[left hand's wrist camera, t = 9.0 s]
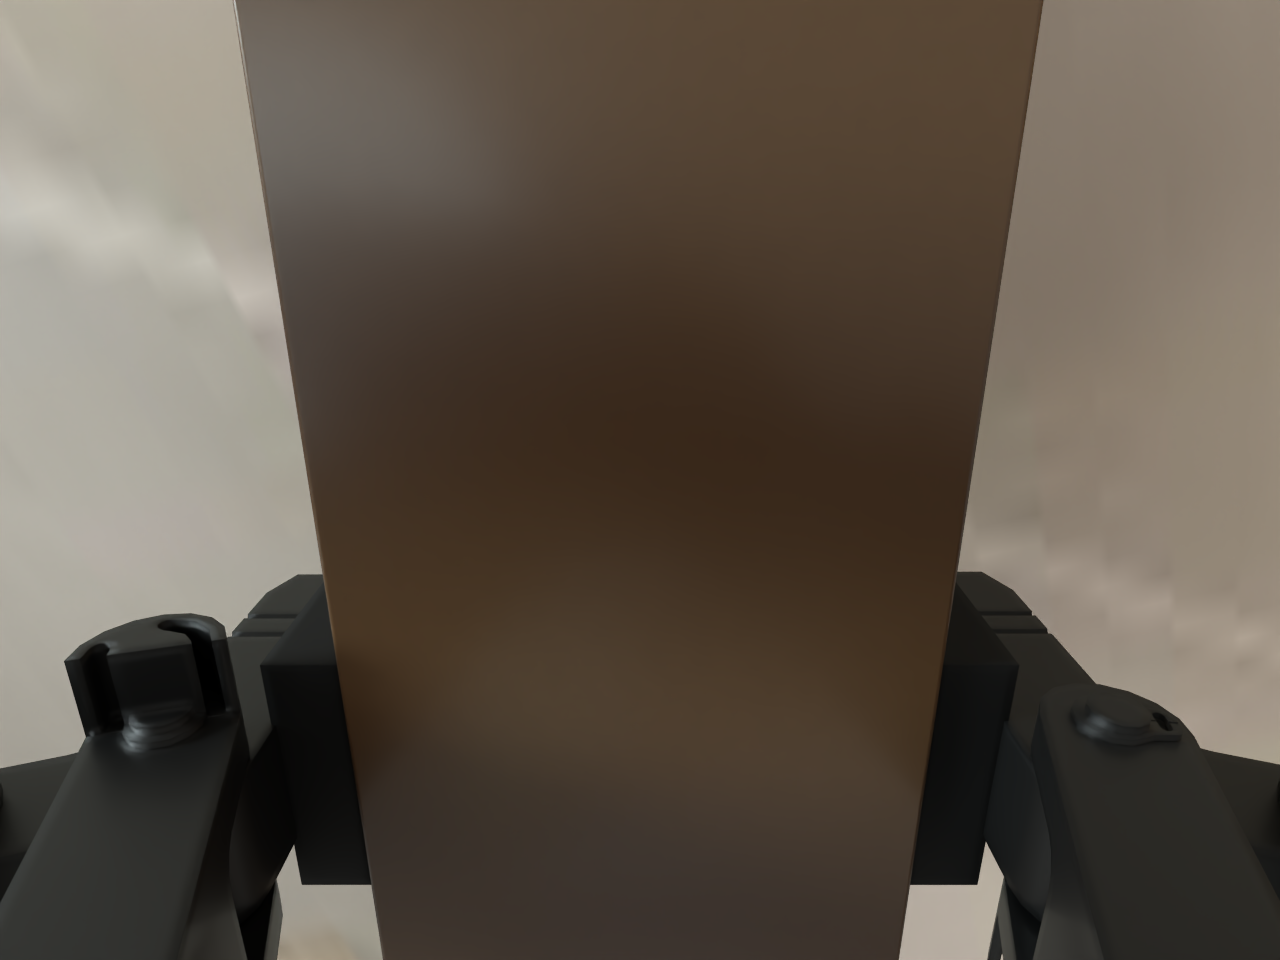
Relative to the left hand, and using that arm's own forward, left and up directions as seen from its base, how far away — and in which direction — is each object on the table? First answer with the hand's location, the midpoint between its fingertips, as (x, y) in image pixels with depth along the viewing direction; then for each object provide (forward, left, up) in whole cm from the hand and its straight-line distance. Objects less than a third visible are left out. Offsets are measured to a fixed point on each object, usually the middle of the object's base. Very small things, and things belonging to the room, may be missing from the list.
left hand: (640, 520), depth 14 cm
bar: (+2, +22, -1) cm, 22 cm away
